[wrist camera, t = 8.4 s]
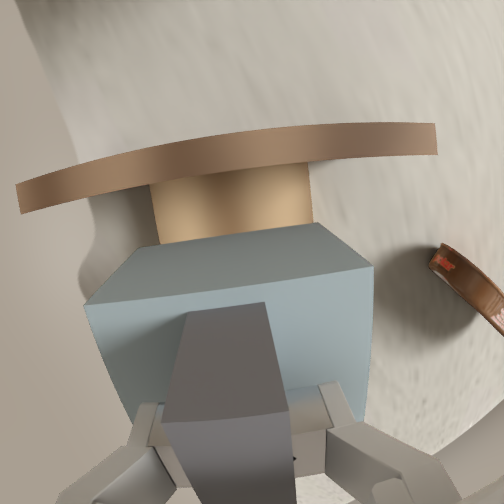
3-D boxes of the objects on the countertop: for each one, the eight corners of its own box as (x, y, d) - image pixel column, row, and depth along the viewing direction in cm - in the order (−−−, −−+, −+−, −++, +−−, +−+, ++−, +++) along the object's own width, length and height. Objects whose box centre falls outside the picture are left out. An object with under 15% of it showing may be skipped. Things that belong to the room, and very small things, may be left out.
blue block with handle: (318, 222, 14) (461, 342, 4) (324, 339, 16) (402, 507, 6) (138, 247, 14) (9, 393, 4) (168, 360, 15) (125, 536, 6)
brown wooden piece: (350, 134, 24) (434, 123, 12) (358, 247, 26) (433, 309, 15) (104, 169, 23) (15, 184, 12) (127, 279, 26) (66, 357, 15)
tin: (495, 299, 29) (540, 331, 21) (481, 321, 30) (523, 356, 22) (427, 231, 26) (484, 259, 18) (409, 259, 27) (461, 295, 19)
